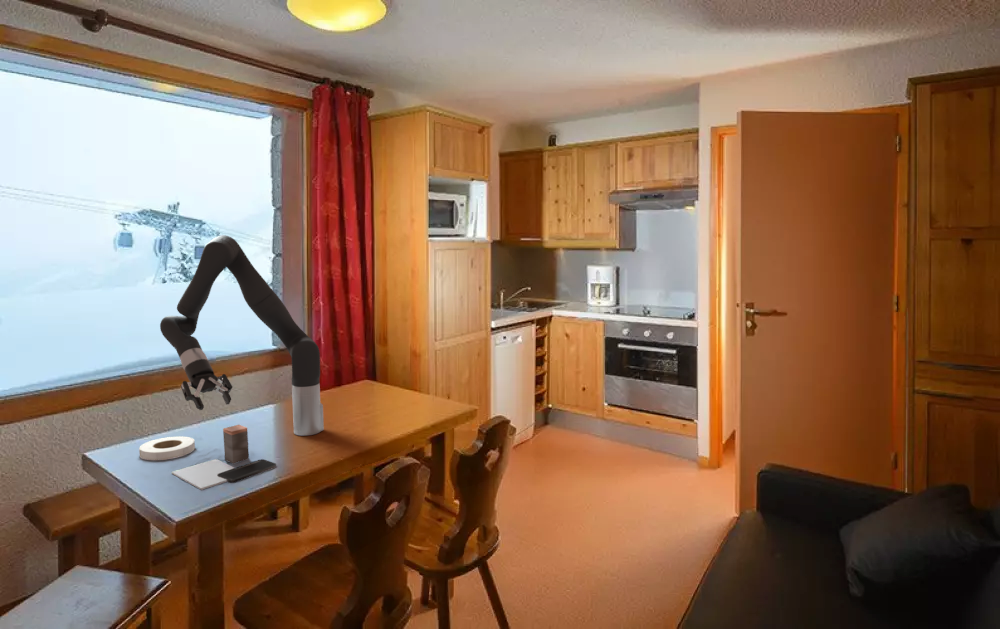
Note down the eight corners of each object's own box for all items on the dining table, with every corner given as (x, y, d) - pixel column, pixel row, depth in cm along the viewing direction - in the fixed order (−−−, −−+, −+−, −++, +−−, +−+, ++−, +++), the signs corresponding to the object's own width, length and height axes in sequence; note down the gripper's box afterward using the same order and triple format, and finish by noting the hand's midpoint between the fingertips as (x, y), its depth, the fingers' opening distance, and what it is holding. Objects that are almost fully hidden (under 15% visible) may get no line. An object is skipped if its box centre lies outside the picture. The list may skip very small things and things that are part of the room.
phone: (215, 474, 172) (261, 458, 184) (215, 478, 172) (262, 462, 184) (231, 480, 167) (278, 464, 180) (232, 484, 168) (278, 467, 180)
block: (240, 455, 189) (238, 424, 188) (248, 459, 186) (247, 427, 185) (224, 459, 185) (223, 428, 184) (233, 463, 182) (231, 431, 181)
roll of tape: (177, 441, 203) (176, 432, 202) (205, 449, 195) (204, 441, 194) (129, 455, 189) (128, 446, 189) (157, 465, 182) (156, 455, 181)
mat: (216, 460, 184) (216, 458, 184) (246, 475, 173) (246, 473, 173) (171, 473, 174) (171, 471, 174) (201, 489, 163) (201, 488, 163)
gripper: (176, 361, 189) (196, 404, 183) (221, 355, 200) (241, 394, 194) (170, 376, 193) (189, 417, 187) (214, 368, 204) (233, 407, 198)
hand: (215, 405), depth 191 cm, fingers open, 8 cm apart
